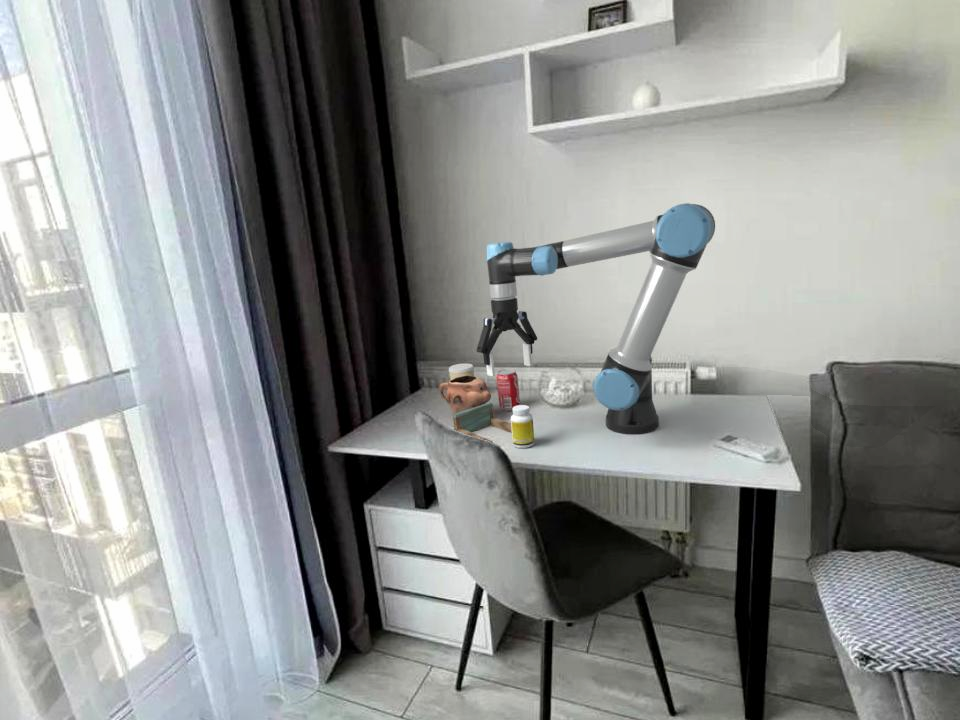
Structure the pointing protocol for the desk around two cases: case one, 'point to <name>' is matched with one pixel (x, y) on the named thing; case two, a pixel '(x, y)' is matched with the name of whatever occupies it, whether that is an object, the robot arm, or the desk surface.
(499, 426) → the green panel wooden stand
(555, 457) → the desk surface
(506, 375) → the soda can
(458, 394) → the decorative planter
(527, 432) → the pill bottle
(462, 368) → the coffee cup
